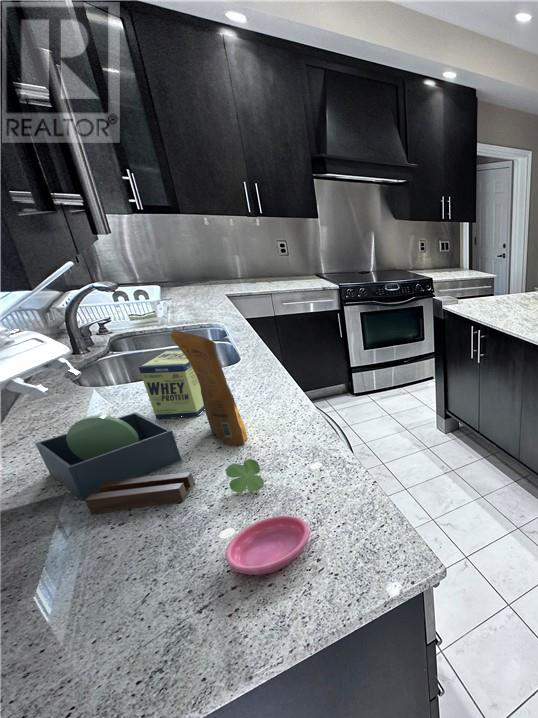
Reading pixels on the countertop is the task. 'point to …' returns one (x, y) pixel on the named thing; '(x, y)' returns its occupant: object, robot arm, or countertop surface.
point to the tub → (111, 458)
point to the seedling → (245, 476)
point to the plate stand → (141, 492)
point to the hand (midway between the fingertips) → (62, 385)
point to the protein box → (172, 385)
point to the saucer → (267, 545)
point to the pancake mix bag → (213, 387)
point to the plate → (99, 436)
